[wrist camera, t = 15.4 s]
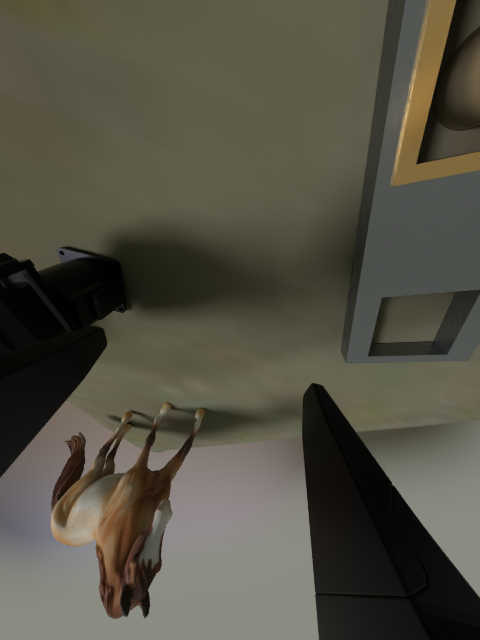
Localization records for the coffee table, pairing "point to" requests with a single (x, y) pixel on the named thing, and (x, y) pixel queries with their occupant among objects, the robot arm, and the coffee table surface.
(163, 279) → the coffee table surface
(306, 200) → the coffee table surface
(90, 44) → the coffee table surface
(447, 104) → the peg
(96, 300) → the robot arm
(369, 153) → the board with square holes
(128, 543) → the horse figurine
